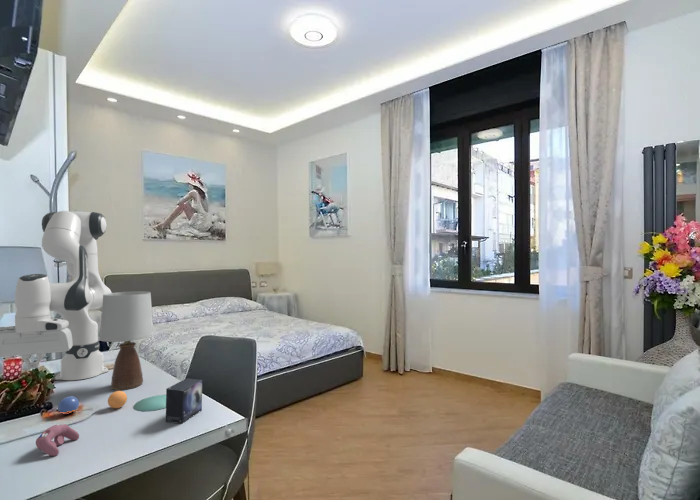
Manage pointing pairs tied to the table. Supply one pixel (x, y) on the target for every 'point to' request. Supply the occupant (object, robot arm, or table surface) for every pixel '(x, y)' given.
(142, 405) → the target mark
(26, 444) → the table surface
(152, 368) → the table surface
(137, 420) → the table surface
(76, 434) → the video game controller
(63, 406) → the blue ball
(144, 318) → the lamp
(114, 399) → the object ball
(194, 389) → the small box
